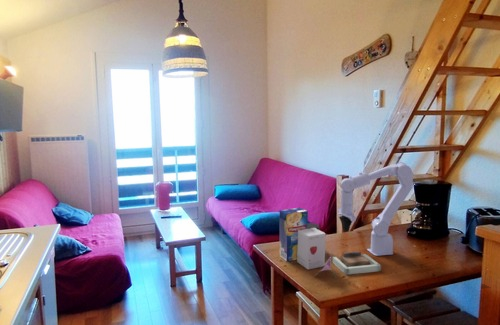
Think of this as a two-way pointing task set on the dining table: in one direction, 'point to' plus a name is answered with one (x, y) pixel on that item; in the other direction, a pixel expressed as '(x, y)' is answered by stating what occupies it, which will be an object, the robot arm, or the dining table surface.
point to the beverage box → (291, 231)
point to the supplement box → (311, 248)
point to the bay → (357, 269)
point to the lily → (327, 266)
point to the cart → (354, 259)
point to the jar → (313, 226)
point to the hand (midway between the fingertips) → (345, 231)
